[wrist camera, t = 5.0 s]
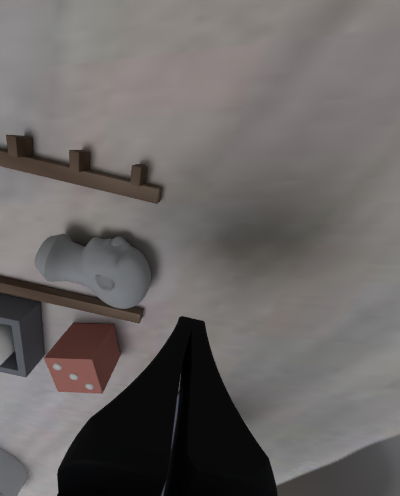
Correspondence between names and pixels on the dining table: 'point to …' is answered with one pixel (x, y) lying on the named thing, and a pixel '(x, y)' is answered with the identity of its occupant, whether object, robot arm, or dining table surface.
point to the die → (84, 358)
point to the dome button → (6, 342)
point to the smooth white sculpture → (97, 268)
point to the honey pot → (11, 475)
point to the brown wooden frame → (80, 174)
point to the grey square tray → (22, 334)
